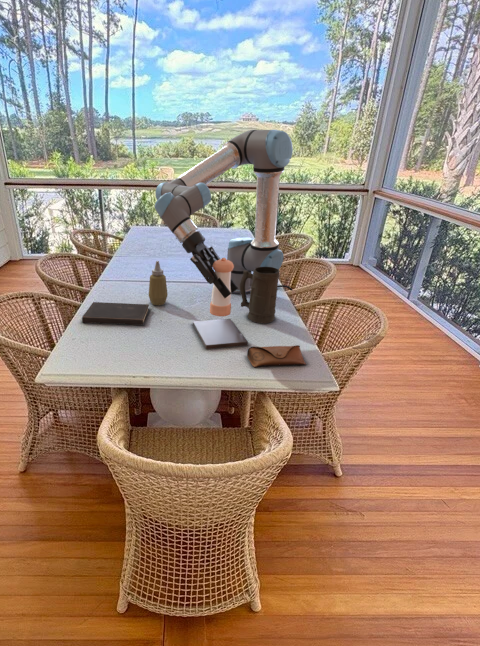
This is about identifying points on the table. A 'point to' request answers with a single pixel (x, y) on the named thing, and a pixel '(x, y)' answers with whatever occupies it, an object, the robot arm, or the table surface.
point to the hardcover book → (116, 313)
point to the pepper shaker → (219, 303)
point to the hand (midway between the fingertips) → (231, 293)
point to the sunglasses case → (275, 356)
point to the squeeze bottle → (157, 286)
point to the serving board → (219, 333)
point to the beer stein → (261, 294)
